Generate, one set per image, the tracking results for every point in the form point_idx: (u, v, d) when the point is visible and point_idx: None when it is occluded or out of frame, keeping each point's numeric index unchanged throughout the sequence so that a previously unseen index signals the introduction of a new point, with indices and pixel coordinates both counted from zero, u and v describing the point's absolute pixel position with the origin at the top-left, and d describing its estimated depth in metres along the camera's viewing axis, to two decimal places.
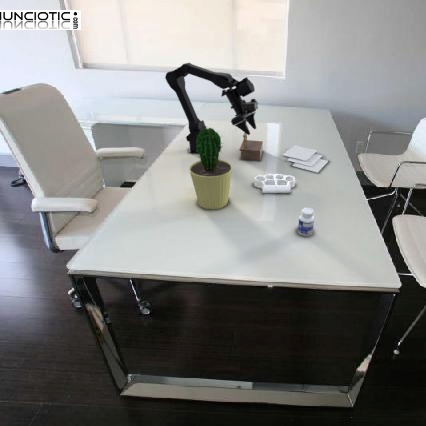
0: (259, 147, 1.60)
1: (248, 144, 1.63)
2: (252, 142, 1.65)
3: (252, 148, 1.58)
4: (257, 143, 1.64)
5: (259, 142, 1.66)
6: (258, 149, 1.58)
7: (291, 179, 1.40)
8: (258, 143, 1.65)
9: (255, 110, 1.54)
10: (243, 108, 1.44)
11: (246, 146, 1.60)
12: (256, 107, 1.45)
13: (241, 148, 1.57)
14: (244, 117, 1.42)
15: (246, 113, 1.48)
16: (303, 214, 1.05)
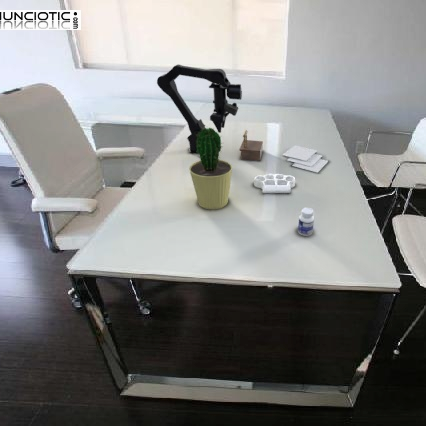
0: (259, 147, 1.60)
1: (248, 144, 1.63)
2: (252, 142, 1.65)
3: (252, 148, 1.58)
4: (257, 143, 1.64)
5: (259, 142, 1.66)
6: (258, 149, 1.58)
7: (291, 179, 1.40)
8: (258, 143, 1.65)
9: None
10: (225, 108, 1.50)
11: (246, 146, 1.60)
12: (236, 113, 1.53)
13: (241, 148, 1.57)
14: (224, 118, 1.48)
15: (224, 112, 1.54)
16: (303, 214, 1.05)
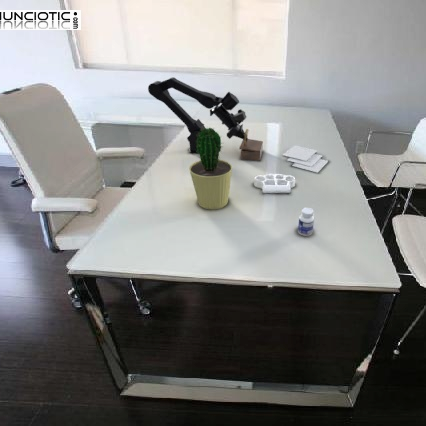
0: (259, 147, 1.60)
1: (248, 142, 1.62)
2: (252, 141, 1.65)
3: (252, 147, 1.58)
4: (257, 143, 1.64)
5: (259, 142, 1.66)
6: (258, 149, 1.58)
7: (291, 179, 1.40)
8: (258, 142, 1.65)
9: (243, 120, 1.63)
10: (233, 120, 1.52)
11: (246, 145, 1.59)
12: (245, 116, 1.54)
13: (241, 146, 1.57)
14: (237, 128, 1.50)
15: (238, 122, 1.60)
16: (303, 214, 1.05)
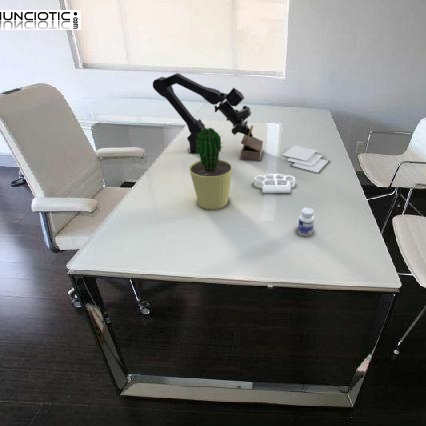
0: (259, 147, 1.60)
1: (249, 139, 1.61)
2: (253, 138, 1.64)
3: (253, 145, 1.57)
4: (258, 141, 1.64)
5: (260, 141, 1.65)
6: (259, 148, 1.58)
7: (291, 179, 1.40)
8: (258, 141, 1.65)
9: (248, 116, 1.62)
10: (238, 117, 1.51)
11: (247, 141, 1.58)
12: (250, 112, 1.52)
13: (243, 141, 1.55)
14: (242, 124, 1.49)
15: (243, 118, 1.59)
16: (303, 214, 1.05)
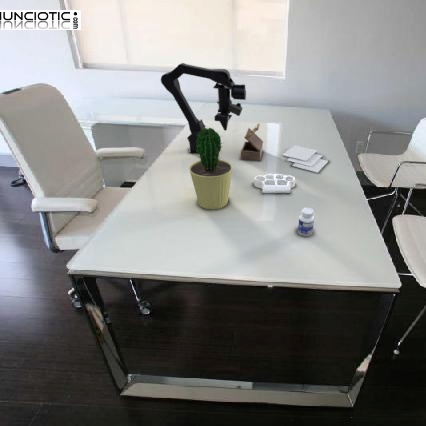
0: (260, 146, 1.60)
1: (252, 135, 1.60)
2: (255, 136, 1.63)
3: (255, 143, 1.57)
4: (259, 140, 1.64)
5: (260, 140, 1.65)
6: (259, 148, 1.58)
7: (291, 179, 1.40)
8: (259, 140, 1.64)
9: None
10: (229, 109, 1.50)
11: (250, 137, 1.57)
12: (240, 113, 1.53)
13: (246, 136, 1.54)
14: (228, 118, 1.48)
15: None
16: (303, 214, 1.05)
